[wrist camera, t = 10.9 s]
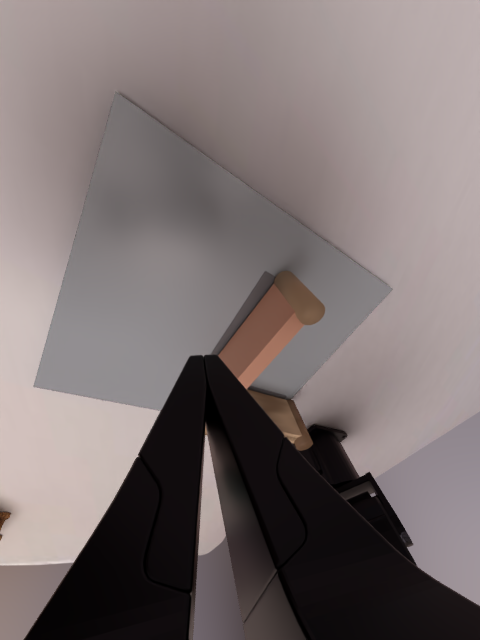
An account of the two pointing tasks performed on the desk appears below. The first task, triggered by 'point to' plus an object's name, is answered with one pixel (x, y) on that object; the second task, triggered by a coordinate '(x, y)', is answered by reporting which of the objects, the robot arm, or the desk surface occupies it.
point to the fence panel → (271, 327)
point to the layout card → (184, 273)
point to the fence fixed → (285, 418)
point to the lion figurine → (3, 519)
